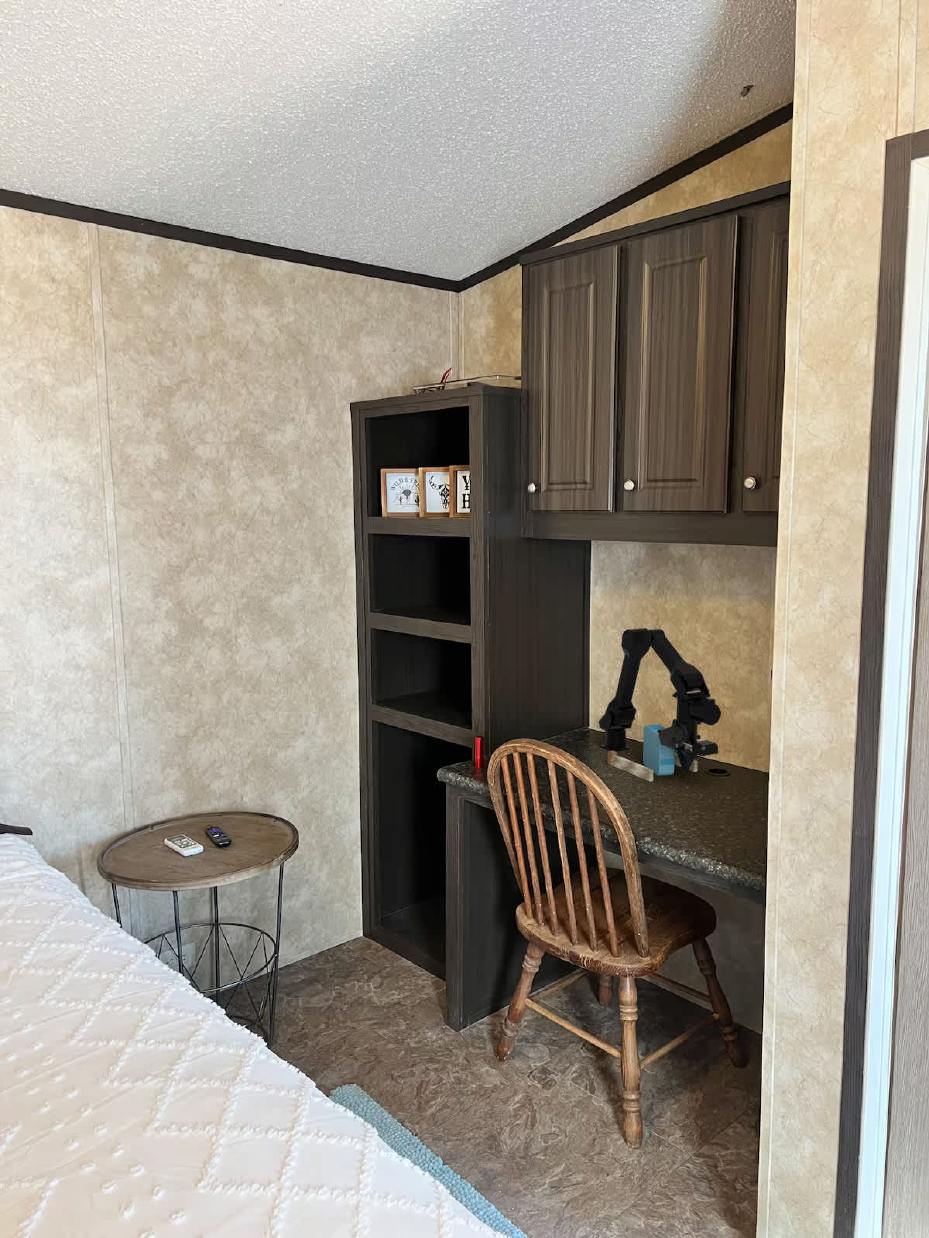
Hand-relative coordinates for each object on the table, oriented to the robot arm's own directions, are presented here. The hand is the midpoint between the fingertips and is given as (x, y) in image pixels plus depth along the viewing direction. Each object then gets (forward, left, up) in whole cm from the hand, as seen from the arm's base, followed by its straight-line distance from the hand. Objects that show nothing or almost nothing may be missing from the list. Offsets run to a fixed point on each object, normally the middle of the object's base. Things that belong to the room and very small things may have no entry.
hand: (685, 771), depth 253 cm
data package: (-11, 0, -3) cm, 11 cm away
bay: (-13, 0, -2) cm, 13 cm away
